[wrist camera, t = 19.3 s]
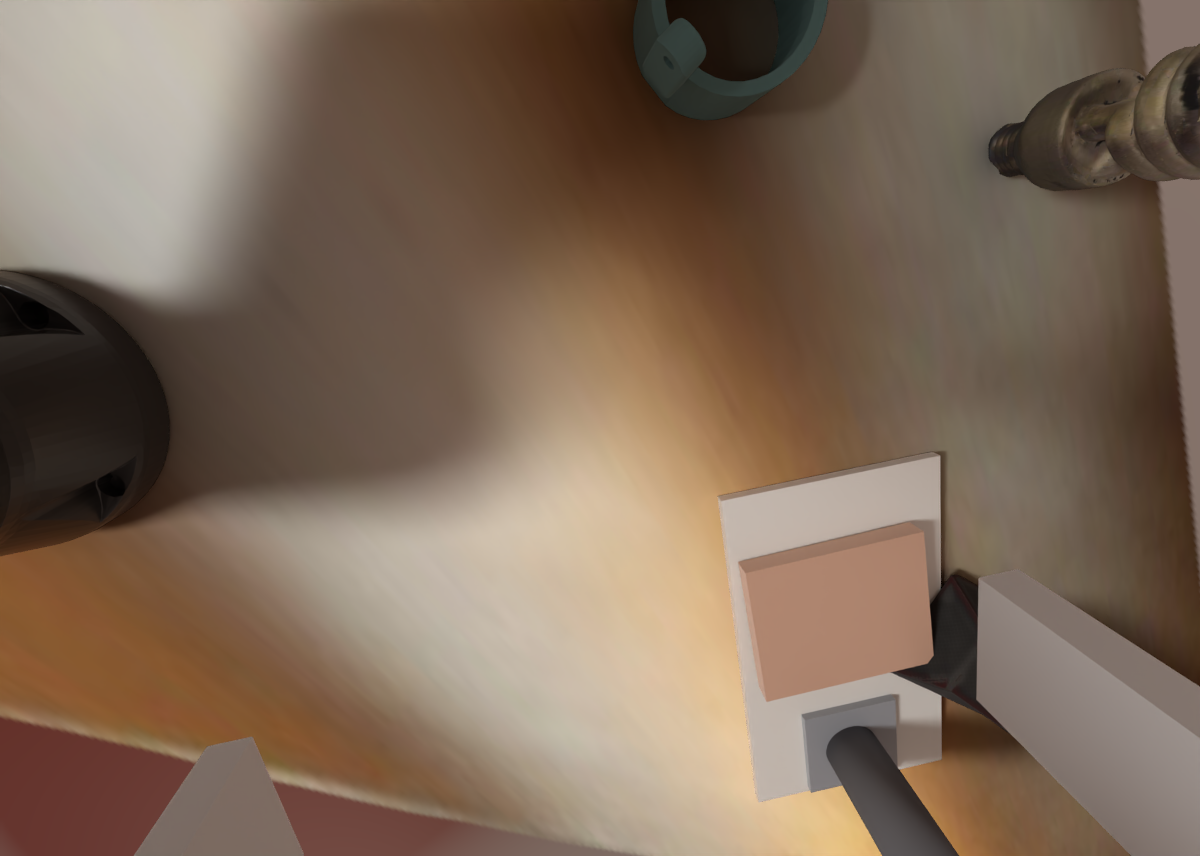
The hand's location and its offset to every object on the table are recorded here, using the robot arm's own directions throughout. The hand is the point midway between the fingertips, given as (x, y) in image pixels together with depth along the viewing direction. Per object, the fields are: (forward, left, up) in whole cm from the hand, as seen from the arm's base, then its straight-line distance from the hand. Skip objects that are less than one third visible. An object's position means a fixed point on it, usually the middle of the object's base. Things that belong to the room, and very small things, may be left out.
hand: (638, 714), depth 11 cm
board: (+16, -22, -27) cm, 38 cm away
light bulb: (+28, +9, -27) cm, 40 cm away
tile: (+15, -13, -25) cm, 32 cm away
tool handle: (+16, -31, -25) cm, 43 cm away
